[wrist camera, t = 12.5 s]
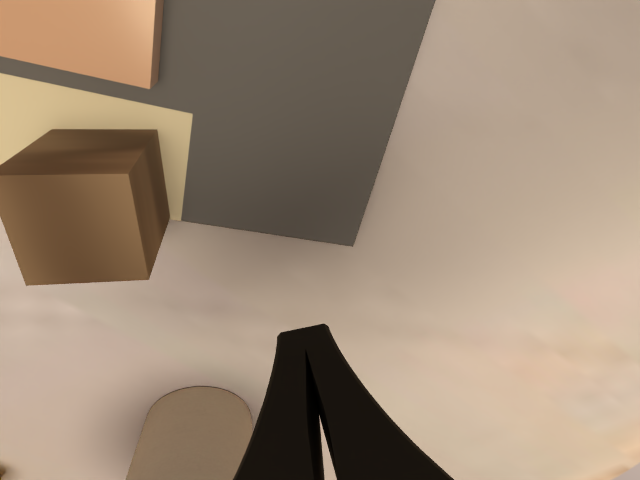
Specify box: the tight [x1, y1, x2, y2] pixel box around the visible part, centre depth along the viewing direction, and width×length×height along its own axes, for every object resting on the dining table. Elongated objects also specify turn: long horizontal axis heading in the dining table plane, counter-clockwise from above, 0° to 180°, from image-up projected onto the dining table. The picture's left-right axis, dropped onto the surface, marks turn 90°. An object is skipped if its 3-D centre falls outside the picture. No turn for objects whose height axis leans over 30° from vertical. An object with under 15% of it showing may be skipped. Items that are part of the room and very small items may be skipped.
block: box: [0, 129, 170, 286], centre depth 16 cm, size 4×4×5 cm
